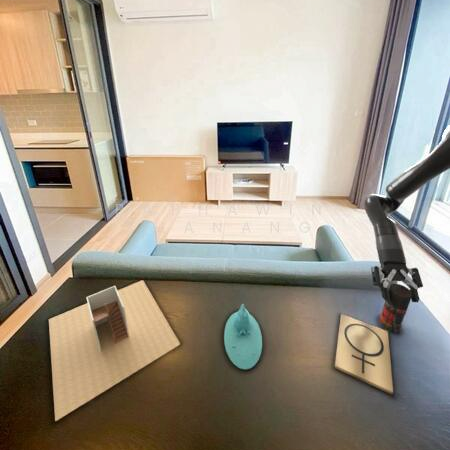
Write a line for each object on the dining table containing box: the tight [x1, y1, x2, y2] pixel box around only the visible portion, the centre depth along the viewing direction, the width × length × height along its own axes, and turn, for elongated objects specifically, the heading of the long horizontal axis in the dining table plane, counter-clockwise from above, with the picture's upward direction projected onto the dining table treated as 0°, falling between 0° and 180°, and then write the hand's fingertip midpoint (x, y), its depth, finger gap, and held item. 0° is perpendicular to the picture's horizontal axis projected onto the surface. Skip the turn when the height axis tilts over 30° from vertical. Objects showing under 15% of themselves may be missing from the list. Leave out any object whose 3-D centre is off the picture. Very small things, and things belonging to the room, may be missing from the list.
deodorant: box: [378, 283, 412, 334], centre depth 80 cm, size 6×6×15 cm
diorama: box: [223, 303, 263, 371], centre depth 77 cm, size 12×20×9 cm, turn 0°
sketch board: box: [334, 313, 394, 395], centre depth 75 cm, size 14×20×1 cm
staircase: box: [85, 285, 130, 352], centre depth 77 cm, size 9×11×17 cm
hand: (401, 301), depth 77 cm, fingers open, 8 cm apart
